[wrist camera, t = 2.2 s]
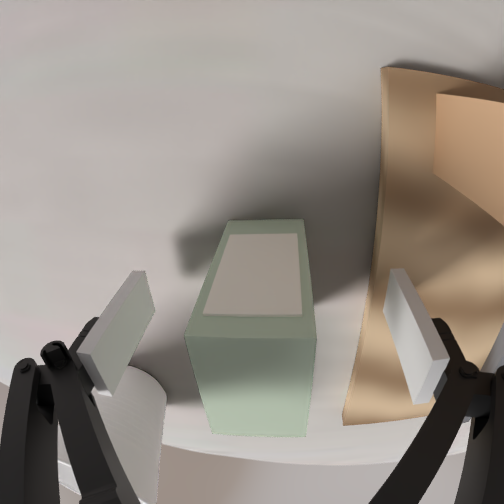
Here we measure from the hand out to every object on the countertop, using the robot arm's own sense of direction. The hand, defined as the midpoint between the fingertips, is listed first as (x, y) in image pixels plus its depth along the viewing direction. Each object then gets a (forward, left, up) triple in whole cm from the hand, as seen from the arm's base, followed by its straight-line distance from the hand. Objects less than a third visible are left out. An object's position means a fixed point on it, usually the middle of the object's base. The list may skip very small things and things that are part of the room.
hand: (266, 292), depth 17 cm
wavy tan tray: (+2, +12, -2) cm, 12 cm away
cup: (+12, -12, -2) cm, 17 cm away
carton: (0, 0, -2) cm, 2 cm away
